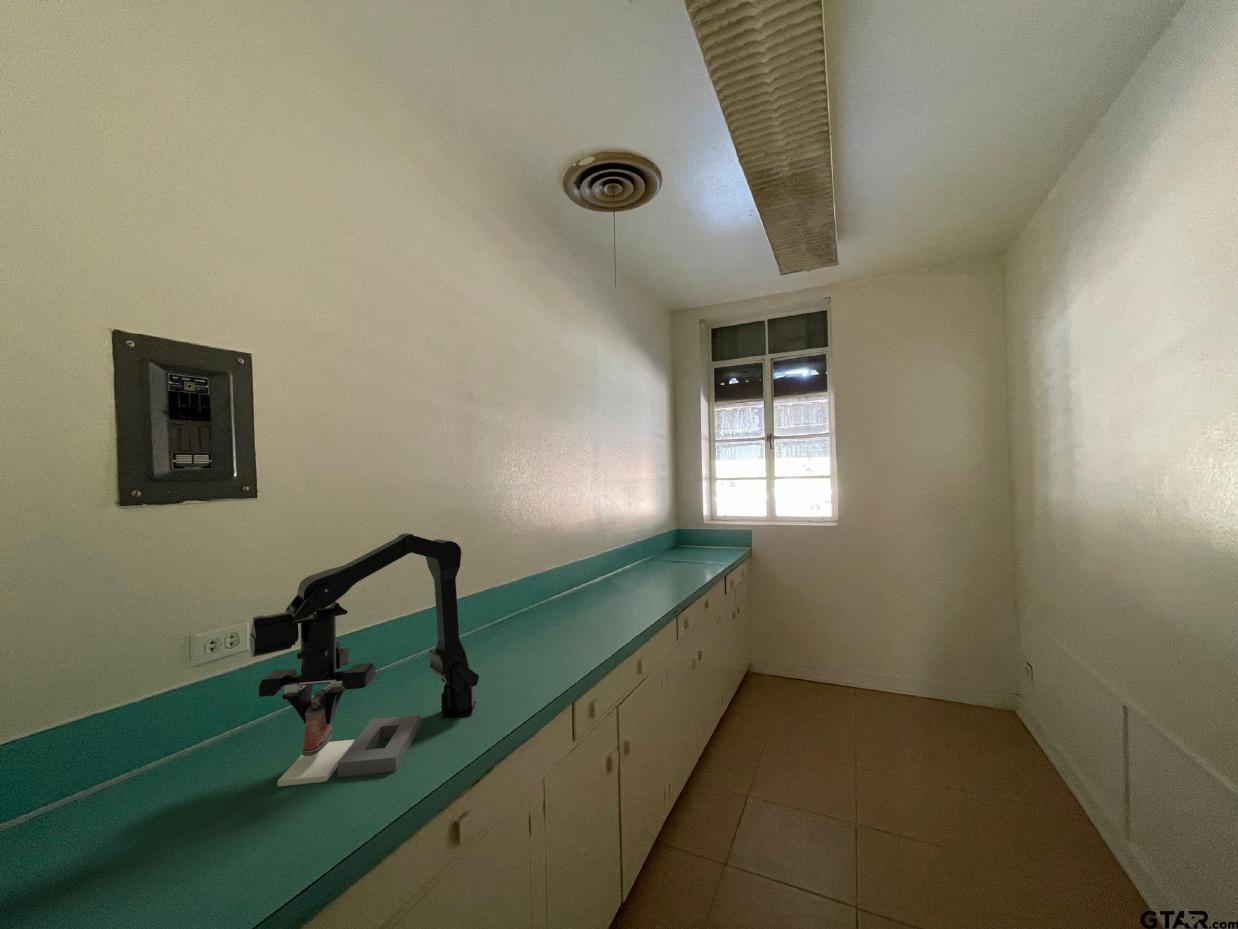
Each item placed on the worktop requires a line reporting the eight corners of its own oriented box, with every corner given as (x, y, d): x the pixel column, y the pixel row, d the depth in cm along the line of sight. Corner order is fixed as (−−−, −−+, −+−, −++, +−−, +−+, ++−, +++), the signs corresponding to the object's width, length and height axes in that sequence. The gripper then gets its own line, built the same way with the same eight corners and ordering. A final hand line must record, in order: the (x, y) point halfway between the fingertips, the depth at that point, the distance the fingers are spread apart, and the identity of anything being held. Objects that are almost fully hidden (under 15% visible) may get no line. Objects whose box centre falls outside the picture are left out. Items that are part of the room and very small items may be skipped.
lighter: (317, 755, 87) (321, 700, 87) (297, 756, 86) (301, 700, 87) (336, 732, 95) (339, 681, 95) (317, 733, 94) (321, 682, 94)
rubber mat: (354, 744, 96) (354, 739, 96) (326, 781, 85) (326, 775, 85) (312, 748, 95) (312, 743, 95) (277, 786, 83) (277, 780, 84)
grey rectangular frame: (420, 726, 103) (420, 715, 103) (395, 771, 87) (395, 757, 87) (371, 731, 102) (371, 719, 102) (337, 777, 86) (337, 763, 86)
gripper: (385, 625, 100) (386, 700, 100) (289, 632, 98) (290, 709, 97) (363, 643, 89) (364, 728, 88) (255, 651, 87) (256, 738, 86)
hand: (319, 724), depth 90 cm, fingers closed on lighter, 3 cm apart
